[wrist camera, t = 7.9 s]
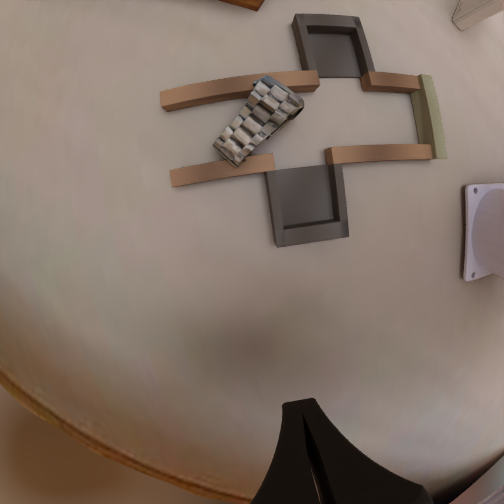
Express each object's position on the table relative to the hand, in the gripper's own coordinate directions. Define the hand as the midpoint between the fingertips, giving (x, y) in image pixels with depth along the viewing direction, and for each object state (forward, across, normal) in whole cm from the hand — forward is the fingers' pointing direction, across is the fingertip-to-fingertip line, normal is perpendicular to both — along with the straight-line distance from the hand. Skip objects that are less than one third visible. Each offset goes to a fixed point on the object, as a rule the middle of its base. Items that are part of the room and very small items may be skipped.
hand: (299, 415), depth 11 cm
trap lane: (+9, -4, -13) cm, 17 cm away
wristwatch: (+10, 0, -13) cm, 17 cm away
